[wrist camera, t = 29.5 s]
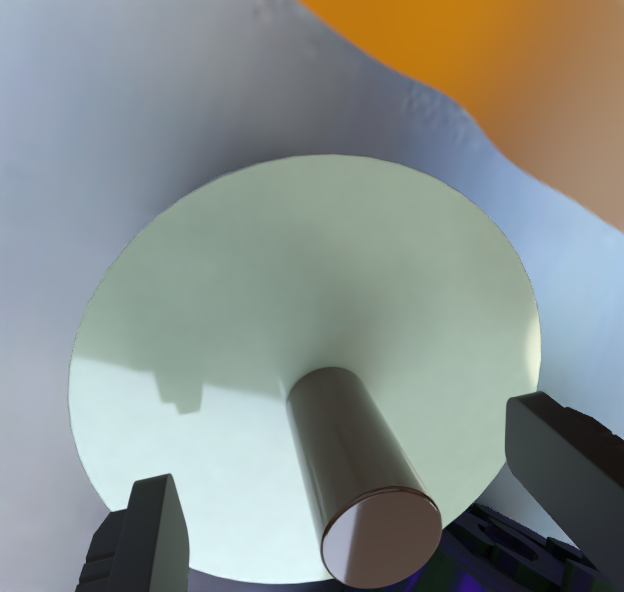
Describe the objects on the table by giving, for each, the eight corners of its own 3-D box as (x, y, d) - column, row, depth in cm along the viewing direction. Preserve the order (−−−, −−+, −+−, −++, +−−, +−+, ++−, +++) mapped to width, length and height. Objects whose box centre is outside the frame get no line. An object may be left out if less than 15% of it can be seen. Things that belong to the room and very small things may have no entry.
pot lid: (146, 599, 15) (104, 856, 10) (6, 192, 11) (-225, 244, 5) (512, 503, 17) (651, 673, 12) (529, 123, 12) (772, 105, 7)
